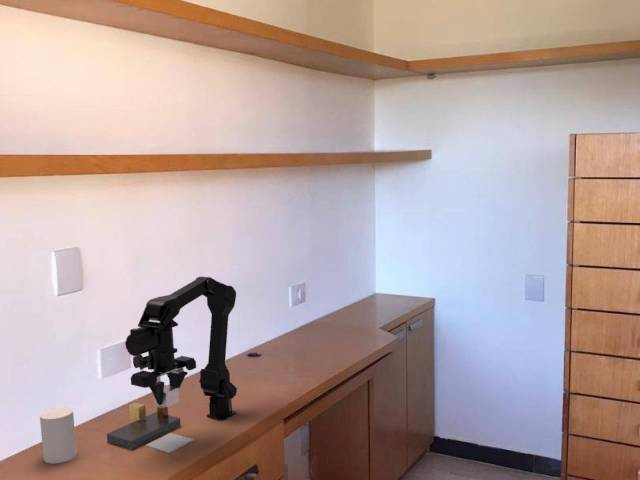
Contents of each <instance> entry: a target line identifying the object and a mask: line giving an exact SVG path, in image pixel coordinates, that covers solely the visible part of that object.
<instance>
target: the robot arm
mask: <svg viewBox="0 0 640 480" xmlns="http://www.w3.org/2000/svg"><path fill="white" fill-rule="evenodd" d="M201 296H204V297H205V298H206V304H207V307H208V310H209V313H210V314H211V318H210V320H211V321H210V332H209V344H208V345H209V346H208V347H209V348H208V349H209V350H208V359H207V364H206V366H205V367H204V368H201V369H200V371H199V373H200V375H199V376H200V378H199V380H198V383H200V389H201V390H202V391H203V395H204V396H206V397H209V398H208V399H209V402H208V403H209V404H208V407H209V413H207V414H206V417H207V418H210V419H214V420H218V421H224V420H226V419H228V418H231V417H232V416H234V415H236V414H237V411H235V410H233V402H232V400H233V399H234V398H235V396H237V390H238V388H237V387H236V386H235V385H234V384H233V382H231V379H230V378H231V377H230V374H231V373H230V371H229V369H228V367H227V364H226V356H227V355H226V353H227V343H228V342H227V341H228V327H229V315H230V314H231V312H232V310H233V309H234V308H235V305H236V298H237V292H236V289H235V288H234V287H233V286H232V285H227V284H224V283H222V282H220V281H217V280H216V279H214V278H212V277H210V276H198V277H196V278H195V279H193V281H190V283H188V284H185V285H184V286H182V287H181V288H179V289H177V290H176V291H174V292H172V293H170V294H168V295H163V296H157V297H154V298H151V299H149V300H148V301H147V302H146V305H145V308H144V310H143V312H142V315H141V318H140V319H139V322H138V324H137V327H138V328H132V329H130V330H129V332H130V333H129V334H128V335H127V337H126V339H125V342H124V344H125V349H126V350H127V352H128V354H129V355H131V357H132V364H133V368H135V369H139V370H140V371H137V372H135V373H132V374H131V377H130V385H132V386H135V387H139V388H145V389H146V388H149V389H150V390H151V392H152V396H153V395H154V396H153V398H154V397H155V399H156V401H157V403H158V405H157V406H160V405H162V401H163V392H164V385H165V381H162V380H161V379H162V378H161V377H163V376H165V375H166V376H167V378H168V382H169V386H174V387H178V388H179V389H180V388H181V385H182V383H183V381H184V379H185V377H186V376H187V375H188V372H187V371H189V372H190V371H192V370H194V369H196V368H197V361H196V360H195V358H194V357H191V356H184V355H180V356H178V357H175V354H176V353H178V348H176V347H175V346H174V345H175V344H174V330H173V328H175V327H178V326H179V322H177V321H175V320H174V319H175V318H176V317H177V316H178V315H179V314H180V310H181V309H182V308H184V307H185V306H187V305H188V304H190V303H192V302H193V301H195V300H196V299H199V298H200V297H201ZM146 353H148V355H145V356H143V354H146ZM146 368H147V370H151V371H147V370H144V369H146ZM184 368H185V369H186V370H187V371H185V369H184Z"/></svg>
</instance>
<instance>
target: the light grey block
mask: <svg viewBox="0 0 640 480" xmlns="http://www.w3.org/2000/svg"><path fill="white" fill-rule="evenodd" d="M179 390H180V388H178V387H174V386H170V384H169V385H168V384H164V392H163V401H162V405H158V403H157V401H156V399H155V397H154V395H153V394H152V396H153V404H154V405H157V406H164V407H168V408H170V407H171V406H173V405H176V404H177V403H180V391H179Z"/></svg>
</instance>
